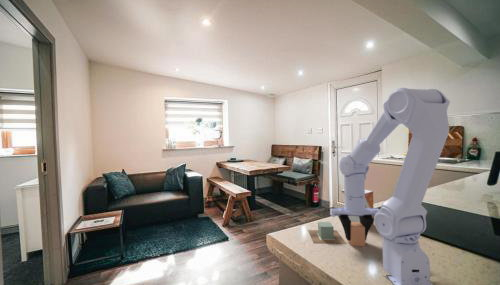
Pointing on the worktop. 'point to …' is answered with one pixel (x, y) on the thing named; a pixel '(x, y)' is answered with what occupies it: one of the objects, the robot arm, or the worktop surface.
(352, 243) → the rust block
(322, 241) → the build board
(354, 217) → the small box
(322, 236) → the green block
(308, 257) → the worktop surface
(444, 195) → the worktop surface
